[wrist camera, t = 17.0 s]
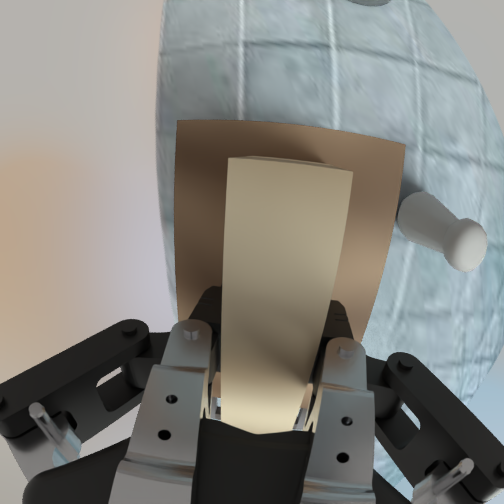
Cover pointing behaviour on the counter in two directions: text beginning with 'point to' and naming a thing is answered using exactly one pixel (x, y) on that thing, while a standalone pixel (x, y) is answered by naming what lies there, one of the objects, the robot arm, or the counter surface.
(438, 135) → the counter surface
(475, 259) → the salt shaker
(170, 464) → the robot arm
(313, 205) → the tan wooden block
